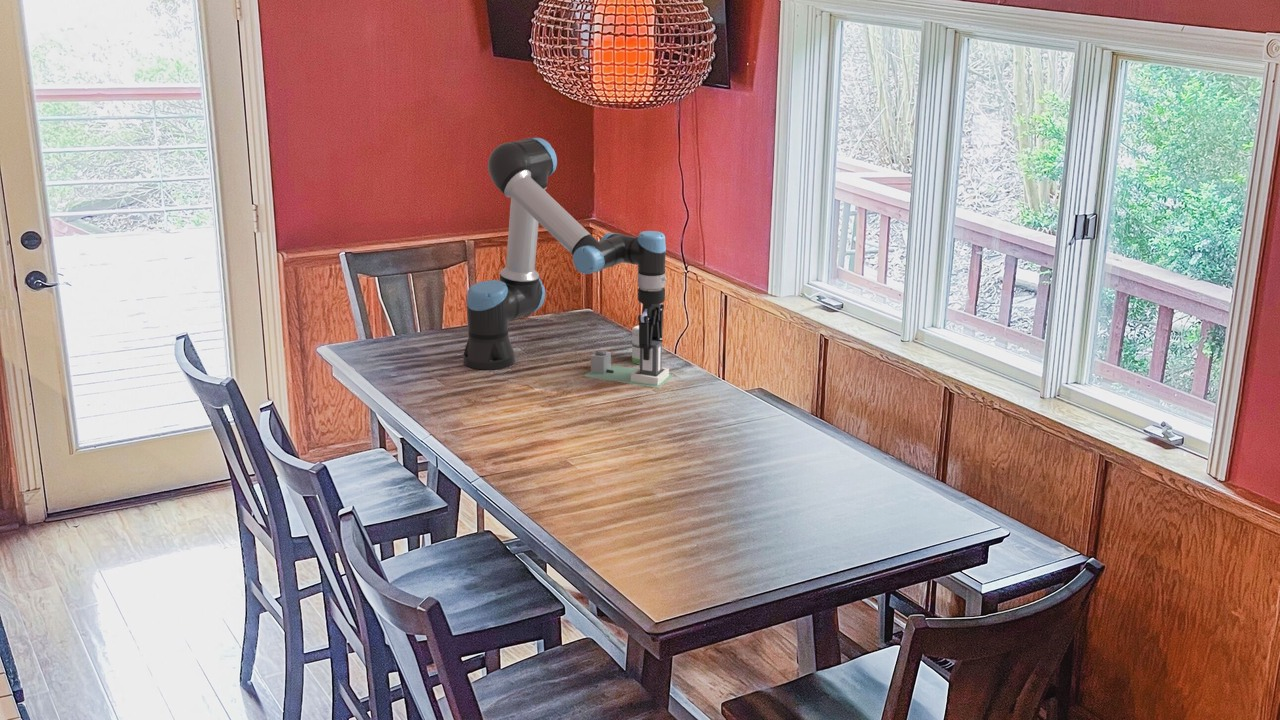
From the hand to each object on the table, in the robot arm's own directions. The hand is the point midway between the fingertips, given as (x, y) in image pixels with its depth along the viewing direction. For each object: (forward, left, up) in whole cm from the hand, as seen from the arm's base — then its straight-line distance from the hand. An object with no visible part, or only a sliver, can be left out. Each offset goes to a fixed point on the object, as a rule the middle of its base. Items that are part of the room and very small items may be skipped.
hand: (650, 367), depth 352 cm
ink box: (-7, +15, -5) cm, 17 cm away
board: (-7, 0, -5) cm, 8 cm away
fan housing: (-15, +1, -3) cm, 15 cm away
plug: (0, 0, -2) cm, 2 cm away
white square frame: (0, 0, -3) cm, 3 cm away
